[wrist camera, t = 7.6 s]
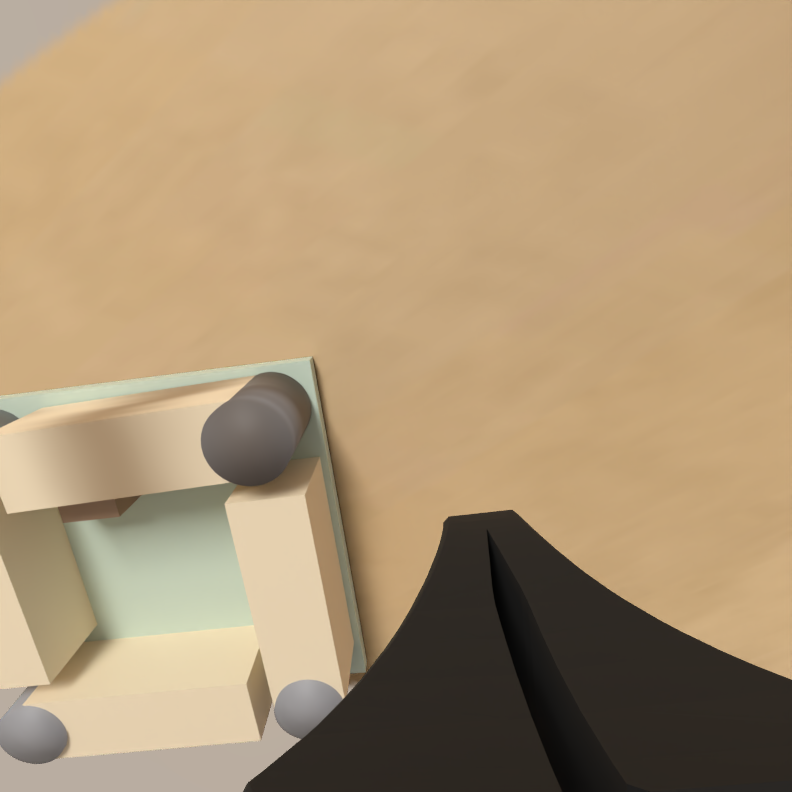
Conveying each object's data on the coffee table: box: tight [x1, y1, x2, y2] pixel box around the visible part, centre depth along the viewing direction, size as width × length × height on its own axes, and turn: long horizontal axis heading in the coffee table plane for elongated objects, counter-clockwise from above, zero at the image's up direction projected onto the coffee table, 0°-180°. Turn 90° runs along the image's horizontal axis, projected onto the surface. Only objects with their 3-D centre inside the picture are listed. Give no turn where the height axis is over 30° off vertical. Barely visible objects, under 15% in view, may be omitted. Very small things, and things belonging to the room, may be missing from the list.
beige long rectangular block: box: [0, 372, 311, 514], centre depth 17 cm, size 9×3×3 cm, turn 99°
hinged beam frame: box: [0, 357, 367, 764], centre depth 19 cm, size 13×13×4 cm
